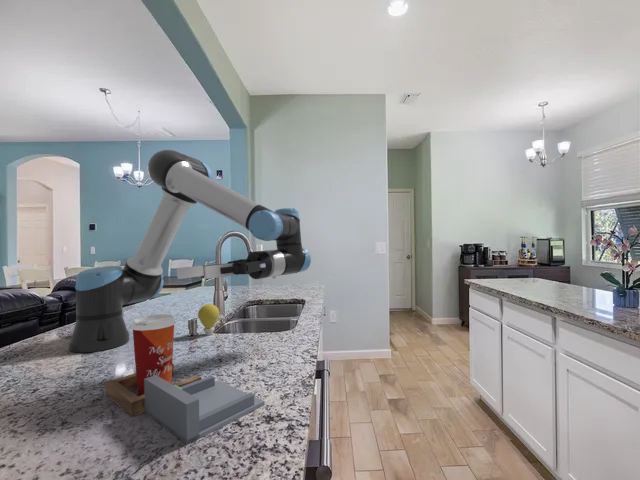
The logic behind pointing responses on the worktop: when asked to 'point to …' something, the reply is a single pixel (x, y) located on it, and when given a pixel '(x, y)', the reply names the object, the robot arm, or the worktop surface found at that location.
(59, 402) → the worktop surface
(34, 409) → the worktop surface
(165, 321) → the coffee cup
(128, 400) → the wooden u-shaped frame
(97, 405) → the worktop surface
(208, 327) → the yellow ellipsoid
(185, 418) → the port dock
